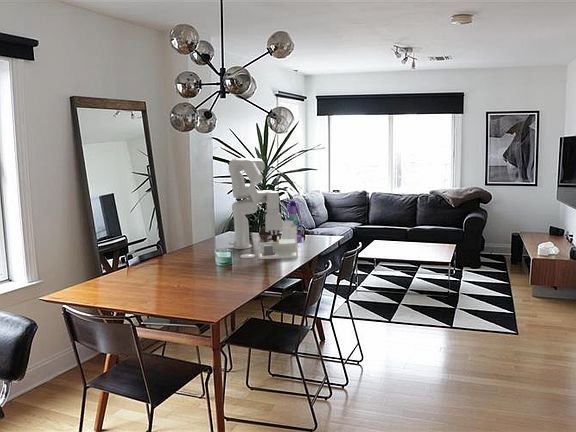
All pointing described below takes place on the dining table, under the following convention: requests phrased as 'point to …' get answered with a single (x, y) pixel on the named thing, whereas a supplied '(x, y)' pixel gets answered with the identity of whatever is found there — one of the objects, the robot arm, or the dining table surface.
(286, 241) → the cover
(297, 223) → the lantern
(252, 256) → the white flat disc
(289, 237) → the milk carton
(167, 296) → the dining table surface
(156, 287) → the dining table surface
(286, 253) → the frame with rectangular opening
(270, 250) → the block
